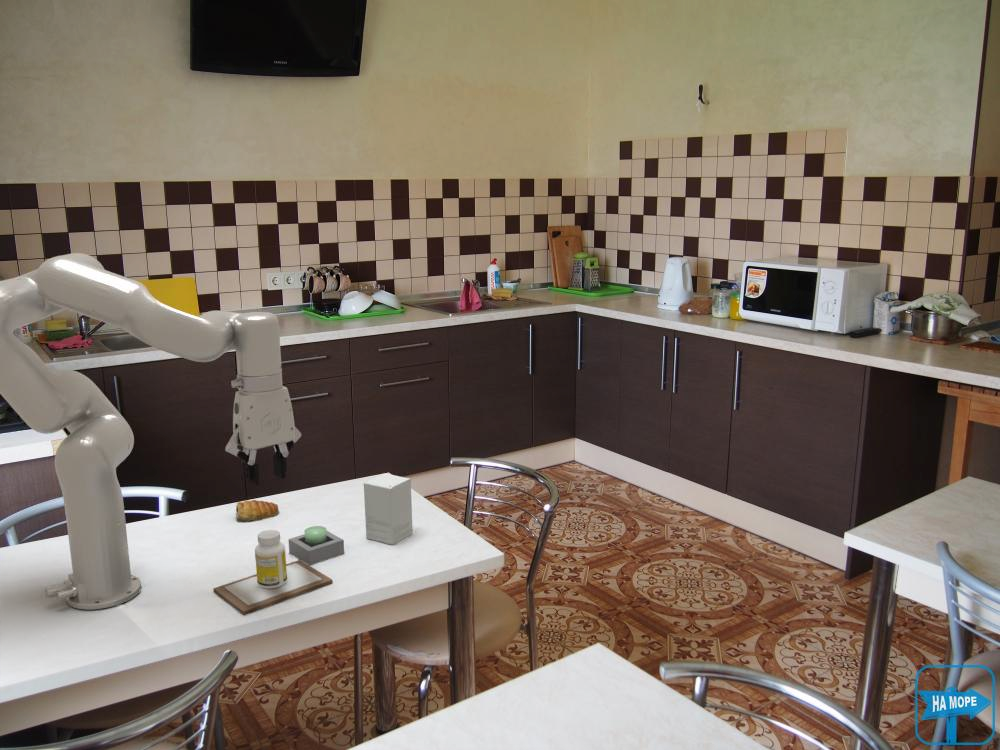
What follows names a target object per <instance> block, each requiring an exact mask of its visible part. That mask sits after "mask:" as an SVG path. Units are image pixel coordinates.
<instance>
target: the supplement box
mask: <svg viewBox="0 0 1000 750" xmlns="http://www.w3.org/2000/svg"><path fill="white" fill-rule="evenodd" d="M411 481H412V479H411V478H410V477H404V476H399V475H394V474H389V473H382V474H380V475H378V476H375V477H374V478H371V479H369V480H367V481H365V482H363V493H364V494H363V496H364V499H363V500H364V517H365V531H366V532H365V538H366V539H369V540H372V541H376V542H380V543H384V544H387V545H395V544H396V543H399V542H401V541H402V540H404V539H406V538H407V537H409V536H411V535H412V534H413V510H412V509H413V507H412V505H413V504H412V482H411Z"/></svg>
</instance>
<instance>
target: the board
mask: <svg viewBox="0 0 1000 750" xmlns="http://www.w3.org/2000/svg"><path fill="white" fill-rule="evenodd" d="M286 569H287V582H286V583H285V584H284V585H282V586H280V587H277V588H273V589H265V588H262V587H260V586H259V585H258V582H257V573H256V574H252V575H249V576H247V577H243V578H241V579H238V580H235V581H231V582H228V583H226V584H223V585H222V584H221V585H220V586H219V585H218V586H217V587H213V594H215V595H216V596H218V597H219V598H220V599H222V600H223V601H224V602H226V603H227V604H228V605H230V606H231V607H232V608H233V609H235V610H236V611H237V612H238V613H240V614H241V615H242V616H247V615H250V614H253V613H256V612H258V611H261V610H264V609H267V608H270V607H272V606H274V605H278V604H280V603H283V602H286V601H288V600H292V599H294V598H297V597H299V596H302V595H305V594H308V593H310V592H311V593H312V592H313V591H316V590H318V589H319V590H320V589H322V588H324V587H328V586H330V585H333V583H334V581H333V579H332V578H331V577H329V576H327V575H325V574H324V573H322V572H321V571H319V570H318V569H316V568H314V567H313V566H311V565H309V564H307V563H305V562H304V561H302V560H300V559H298V560H296V561H295V560H294V561H291V562H288V563H286Z"/></svg>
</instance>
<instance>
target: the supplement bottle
mask: <svg viewBox="0 0 1000 750" xmlns="http://www.w3.org/2000/svg"><path fill="white" fill-rule="evenodd" d="M257 543H258V544H257V545H256V546H255V548H254V557H255V568H256V574H257V582H258V585H259V586H260V587H262V588H265V589H273V588H277V587H280V586H282V585H284V584H285V583H286V582H287V569H286V564H287V557H286V546H285V543H284V542H282V541H281V533H280V531H278V530H277V529H276V530H275V529H268V530H263V531H261V532H259V533H258V534H257Z"/></svg>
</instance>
